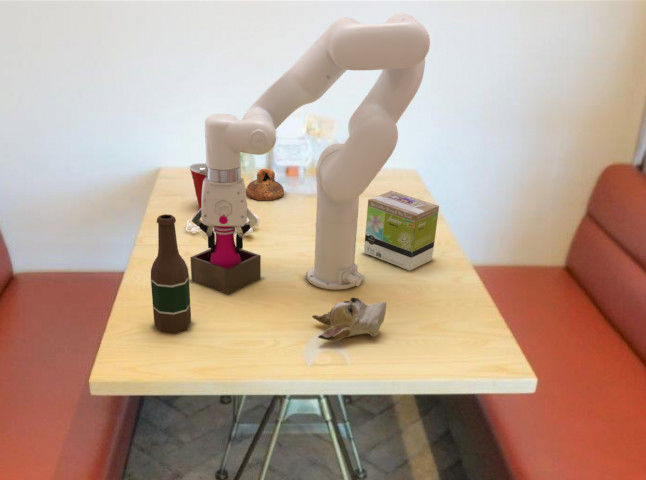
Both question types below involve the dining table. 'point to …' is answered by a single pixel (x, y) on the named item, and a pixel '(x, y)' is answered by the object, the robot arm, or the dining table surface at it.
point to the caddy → (226, 272)
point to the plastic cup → (198, 180)
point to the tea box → (400, 229)
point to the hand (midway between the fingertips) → (225, 250)
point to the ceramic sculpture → (352, 319)
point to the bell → (265, 186)
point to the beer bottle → (170, 281)
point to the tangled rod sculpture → (195, 230)
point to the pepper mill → (225, 246)
